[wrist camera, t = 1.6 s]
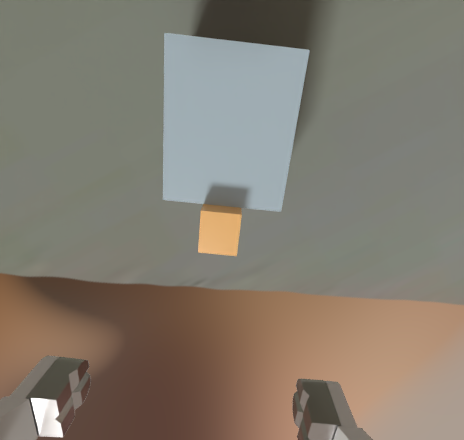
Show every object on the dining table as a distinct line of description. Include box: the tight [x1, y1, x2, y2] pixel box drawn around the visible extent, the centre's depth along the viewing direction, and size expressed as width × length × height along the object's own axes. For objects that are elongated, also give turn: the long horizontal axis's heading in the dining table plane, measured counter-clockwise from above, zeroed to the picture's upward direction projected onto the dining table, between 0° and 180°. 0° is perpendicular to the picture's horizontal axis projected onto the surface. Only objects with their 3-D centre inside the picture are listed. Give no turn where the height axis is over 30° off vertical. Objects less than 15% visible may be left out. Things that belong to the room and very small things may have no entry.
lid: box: [163, 33, 310, 256], centre depth 22 cm, size 17×11×4 cm, turn 174°
